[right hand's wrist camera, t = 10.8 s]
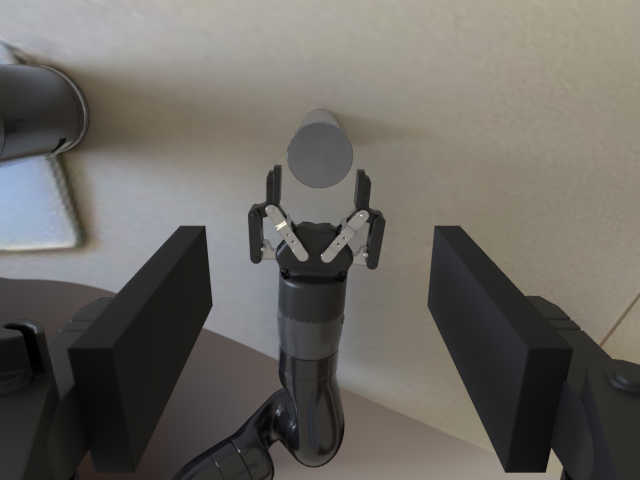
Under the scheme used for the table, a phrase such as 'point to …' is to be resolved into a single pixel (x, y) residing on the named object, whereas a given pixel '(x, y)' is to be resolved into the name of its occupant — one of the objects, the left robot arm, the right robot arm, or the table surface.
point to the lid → (319, 154)
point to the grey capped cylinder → (319, 116)
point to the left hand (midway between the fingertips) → (319, 168)
